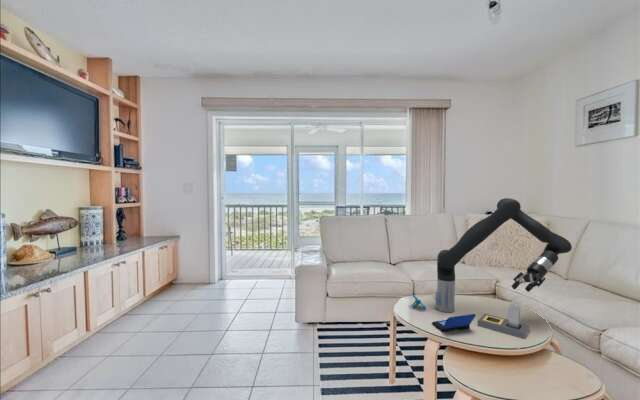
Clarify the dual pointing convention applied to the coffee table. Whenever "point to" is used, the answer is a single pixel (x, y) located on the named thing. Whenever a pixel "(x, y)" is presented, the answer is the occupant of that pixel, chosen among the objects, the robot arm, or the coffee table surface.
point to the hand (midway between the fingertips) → (519, 289)
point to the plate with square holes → (503, 326)
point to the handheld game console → (454, 323)
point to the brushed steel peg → (514, 316)
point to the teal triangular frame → (417, 302)
